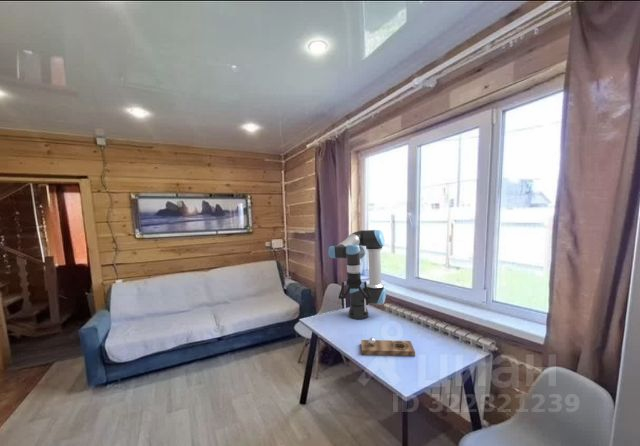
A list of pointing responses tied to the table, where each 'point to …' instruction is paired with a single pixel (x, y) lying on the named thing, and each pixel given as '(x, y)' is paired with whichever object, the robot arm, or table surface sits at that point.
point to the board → (388, 348)
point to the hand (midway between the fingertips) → (355, 310)
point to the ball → (372, 341)
